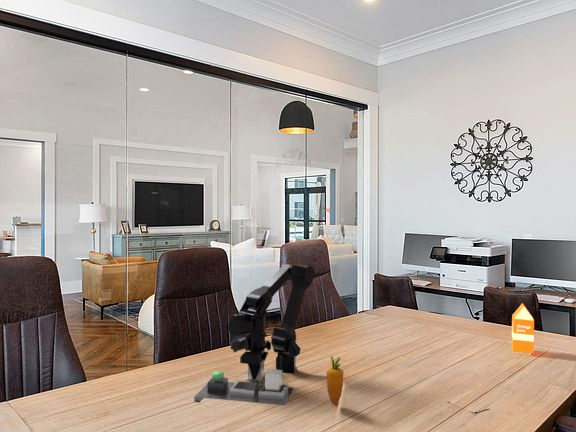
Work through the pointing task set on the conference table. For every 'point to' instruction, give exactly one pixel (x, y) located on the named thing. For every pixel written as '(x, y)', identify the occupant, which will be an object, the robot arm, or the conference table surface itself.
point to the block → (273, 380)
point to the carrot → (335, 381)
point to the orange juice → (522, 331)
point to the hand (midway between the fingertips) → (256, 376)
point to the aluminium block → (260, 373)
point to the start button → (217, 375)
